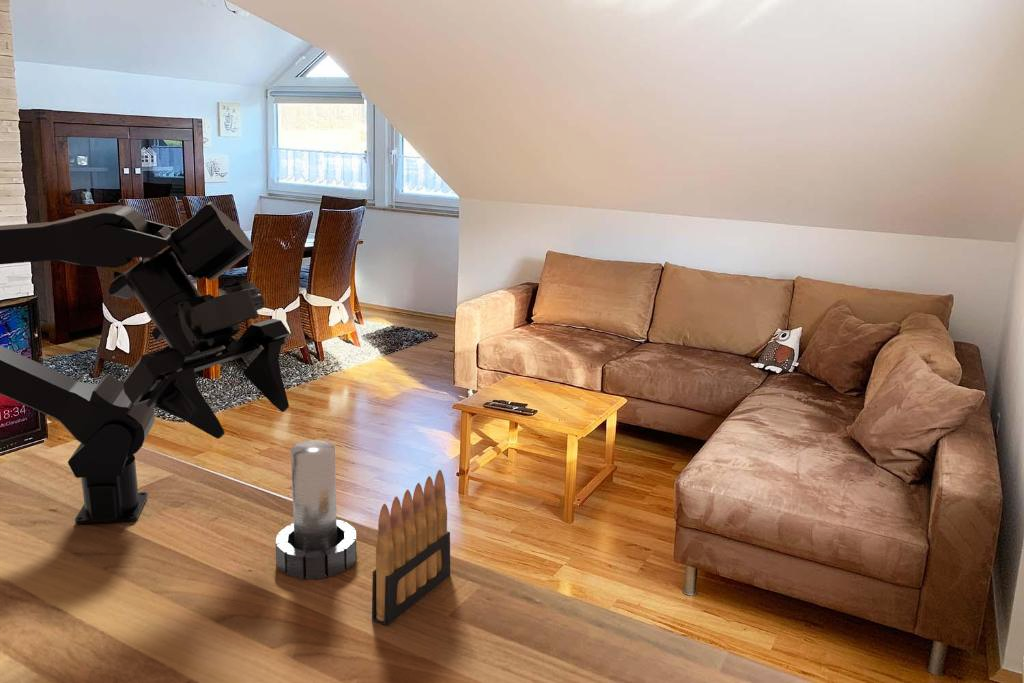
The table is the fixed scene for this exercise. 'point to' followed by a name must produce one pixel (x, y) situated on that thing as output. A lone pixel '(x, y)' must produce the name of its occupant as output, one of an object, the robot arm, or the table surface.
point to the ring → (316, 554)
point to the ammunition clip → (410, 550)
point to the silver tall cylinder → (314, 495)
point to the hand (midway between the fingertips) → (255, 422)
